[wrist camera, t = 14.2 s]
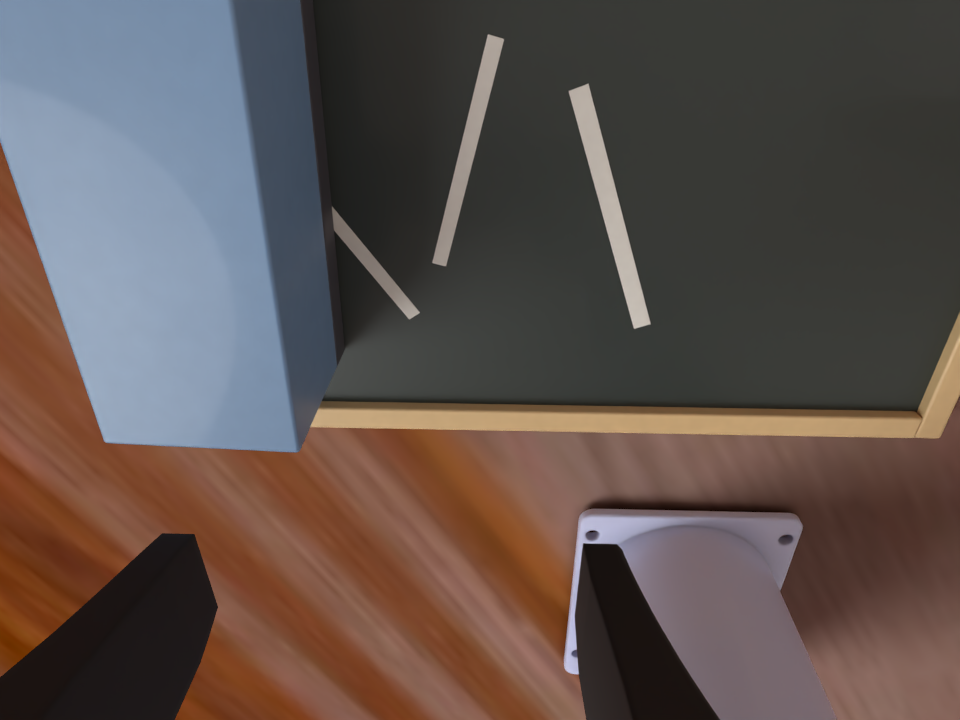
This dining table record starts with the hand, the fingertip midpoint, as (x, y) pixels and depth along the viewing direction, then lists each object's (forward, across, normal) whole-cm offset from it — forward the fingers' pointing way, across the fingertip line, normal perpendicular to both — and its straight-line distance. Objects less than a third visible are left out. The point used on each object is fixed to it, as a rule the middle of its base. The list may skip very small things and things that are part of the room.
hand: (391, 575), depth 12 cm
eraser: (+9, +5, -5) cm, 11 cm away
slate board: (+9, -3, -4) cm, 11 cm away
